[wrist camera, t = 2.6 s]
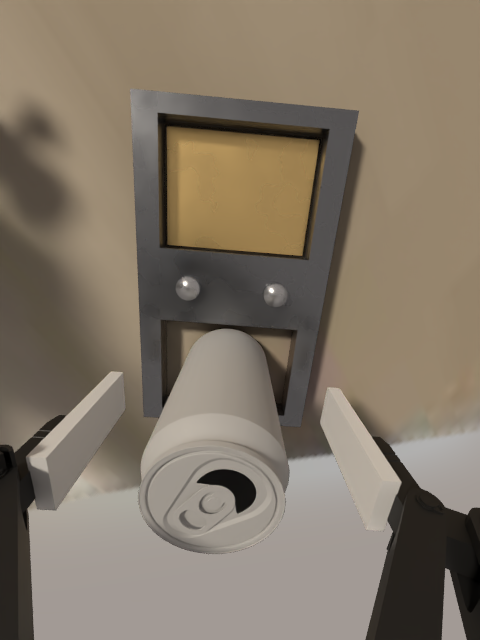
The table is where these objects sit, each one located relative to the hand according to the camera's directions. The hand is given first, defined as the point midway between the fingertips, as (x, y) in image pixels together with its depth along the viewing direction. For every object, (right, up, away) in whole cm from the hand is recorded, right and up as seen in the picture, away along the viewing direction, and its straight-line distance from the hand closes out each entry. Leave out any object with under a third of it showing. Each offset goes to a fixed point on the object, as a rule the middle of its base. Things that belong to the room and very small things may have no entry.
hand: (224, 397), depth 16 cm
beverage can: (0, +2, +5) cm, 5 cm away
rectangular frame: (0, +8, +3) cm, 8 cm away
